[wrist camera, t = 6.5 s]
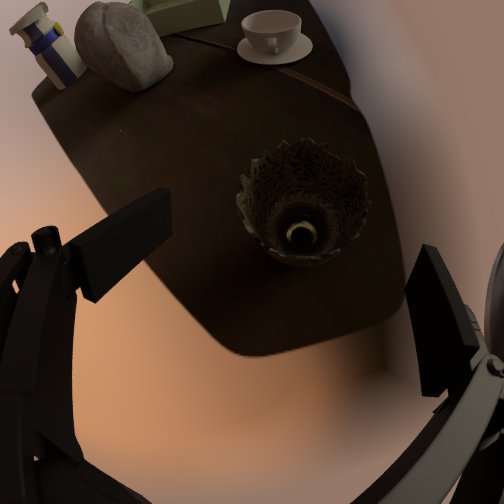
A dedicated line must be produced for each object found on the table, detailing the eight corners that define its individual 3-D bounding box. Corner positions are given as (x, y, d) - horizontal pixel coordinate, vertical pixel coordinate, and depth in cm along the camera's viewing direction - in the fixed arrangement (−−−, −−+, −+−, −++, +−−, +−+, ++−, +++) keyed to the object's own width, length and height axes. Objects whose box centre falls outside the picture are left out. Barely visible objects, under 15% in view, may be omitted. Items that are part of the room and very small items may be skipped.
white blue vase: (88, 56, 39) (36, -21, 15) (90, 70, 37) (27, -18, 13) (58, 79, 39) (1, 8, 15) (56, 96, 37) (-12, 17, 13)
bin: (225, 22, 34) (217, -5, 28) (117, 51, 37) (104, 30, 31) (233, -12, 39) (228, -32, 34) (147, 9, 42) (139, -8, 37)
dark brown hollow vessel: (365, 234, 22) (395, 188, 14) (306, 304, 21) (313, 288, 13) (296, 180, 24) (294, 119, 16) (237, 241, 23) (209, 198, 15)
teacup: (241, 34, 32) (235, 10, 27) (309, 31, 30) (307, 6, 26) (234, 70, 29) (226, 41, 25) (315, 67, 28) (315, 37, 23)
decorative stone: (190, 81, 30) (148, -14, 16) (120, 124, 30) (56, 42, 15) (158, 45, 34) (125, -22, 20) (104, 78, 34) (61, 17, 20)
